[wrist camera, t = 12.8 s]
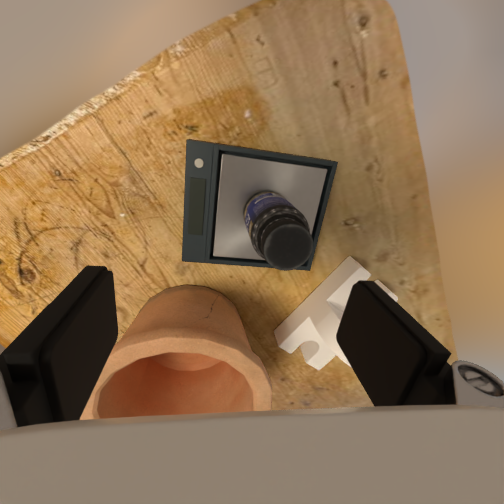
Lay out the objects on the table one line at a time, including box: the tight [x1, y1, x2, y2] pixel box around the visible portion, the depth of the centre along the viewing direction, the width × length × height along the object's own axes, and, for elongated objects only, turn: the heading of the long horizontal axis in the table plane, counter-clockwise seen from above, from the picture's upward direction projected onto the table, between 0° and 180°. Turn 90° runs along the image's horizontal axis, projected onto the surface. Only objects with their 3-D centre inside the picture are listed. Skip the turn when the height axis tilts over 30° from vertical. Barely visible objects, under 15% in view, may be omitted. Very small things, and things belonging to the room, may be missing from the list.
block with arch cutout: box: [274, 256, 398, 370], centre depth 39 cm, size 18×10×11 cm, turn 140°
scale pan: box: [213, 154, 327, 260], centre depth 34 cm, size 13×13×1 cm
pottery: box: [80, 285, 272, 420], centre depth 36 cm, size 22×22×14 cm
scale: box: [182, 139, 338, 271], centre depth 34 cm, size 18×15×3 cm
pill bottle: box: [244, 191, 313, 271], centre depth 28 cm, size 6×6×11 cm
